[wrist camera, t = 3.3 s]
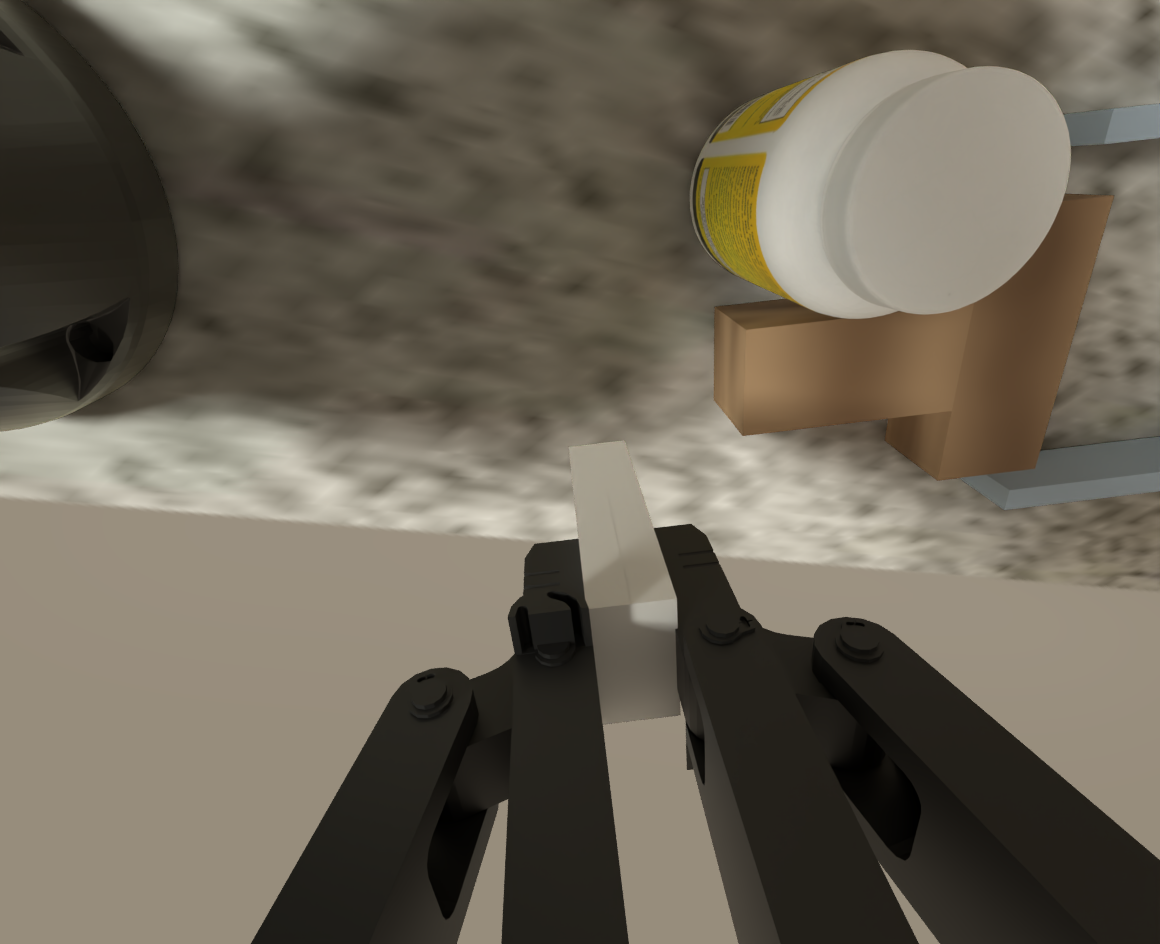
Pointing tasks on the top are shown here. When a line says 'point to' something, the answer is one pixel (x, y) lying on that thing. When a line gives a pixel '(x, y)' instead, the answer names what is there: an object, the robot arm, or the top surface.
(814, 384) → the t block
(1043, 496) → the dock
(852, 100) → the pill bottle
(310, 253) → the top surface
